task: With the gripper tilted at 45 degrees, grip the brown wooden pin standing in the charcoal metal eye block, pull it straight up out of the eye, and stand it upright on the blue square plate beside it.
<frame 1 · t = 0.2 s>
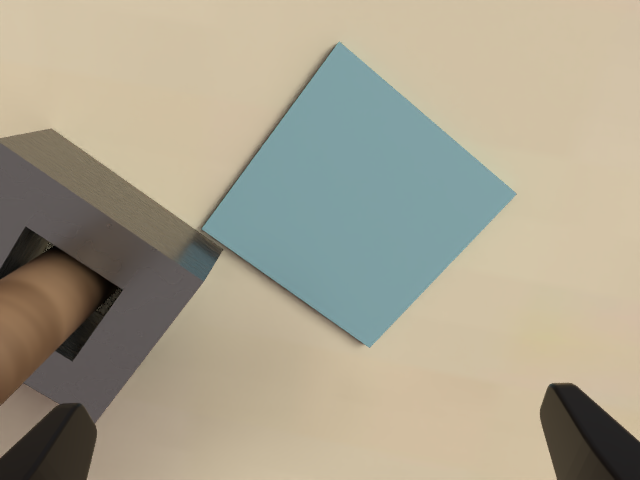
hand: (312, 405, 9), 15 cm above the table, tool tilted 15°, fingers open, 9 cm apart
brown wooden pin: (2, 335, 18), in the eye block
blue square plate: (355, 208, 23), on the table
eye block: (92, 263, 25), on the table
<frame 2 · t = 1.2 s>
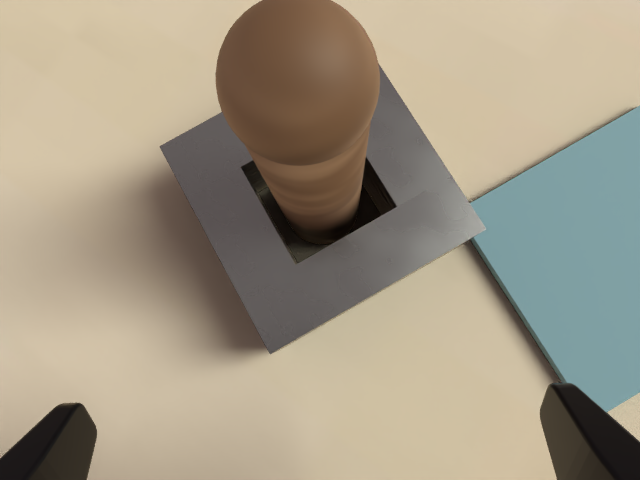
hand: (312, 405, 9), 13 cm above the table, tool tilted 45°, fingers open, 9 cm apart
brown wooden pin: (312, 160, 16), in the eye block
blue square plate: (614, 254, 22), on the table
eye block: (321, 208, 23), on the table
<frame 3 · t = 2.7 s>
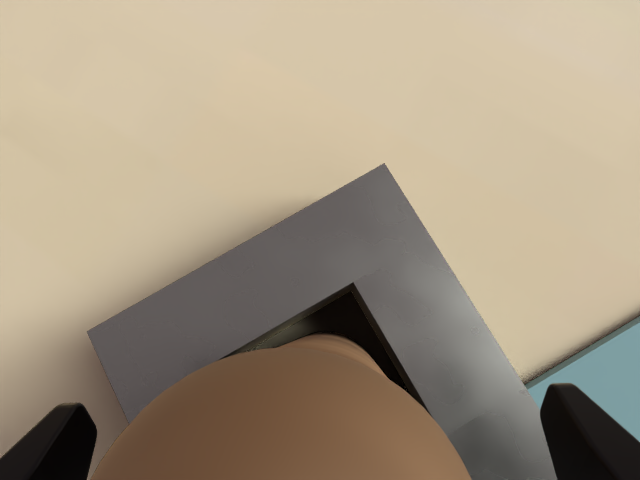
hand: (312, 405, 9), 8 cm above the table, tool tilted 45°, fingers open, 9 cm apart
brown wooden pin: (315, 427, 10), in the eye block
eye block: (326, 382, 17), on the table
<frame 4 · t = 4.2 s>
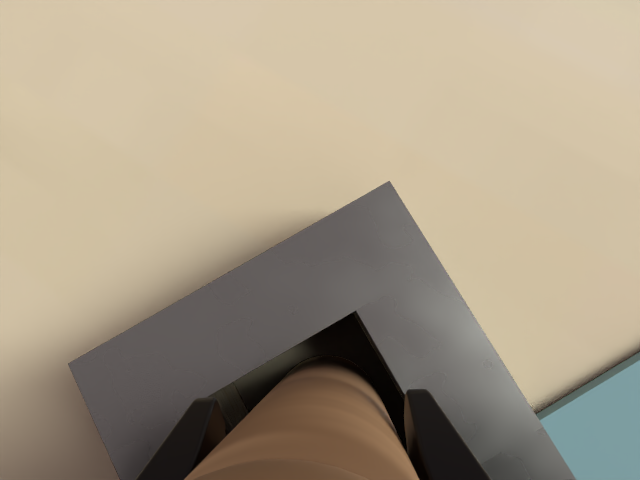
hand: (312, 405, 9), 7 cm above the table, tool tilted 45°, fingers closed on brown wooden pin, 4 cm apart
eye block: (327, 409, 16), on the table
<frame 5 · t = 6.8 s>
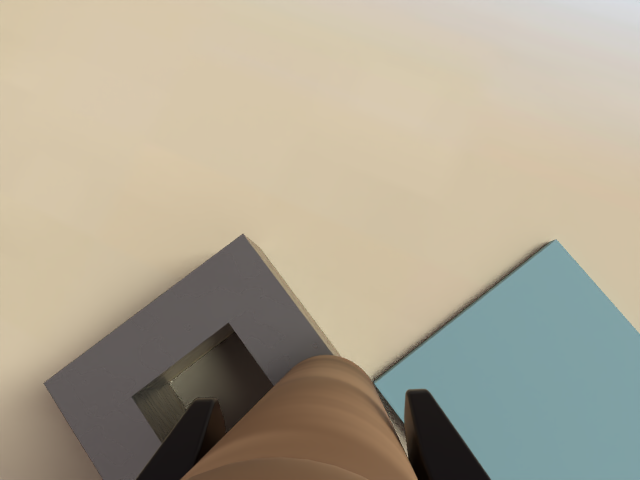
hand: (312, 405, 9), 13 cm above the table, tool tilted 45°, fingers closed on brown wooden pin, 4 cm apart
blue square plate: (541, 406, 21), on the table
eye block: (237, 392, 22), on the table
when the fingers open (8 cm above the table, at t = 9.5 s): brown wooden pin stays where it is, resting on blue square plate.
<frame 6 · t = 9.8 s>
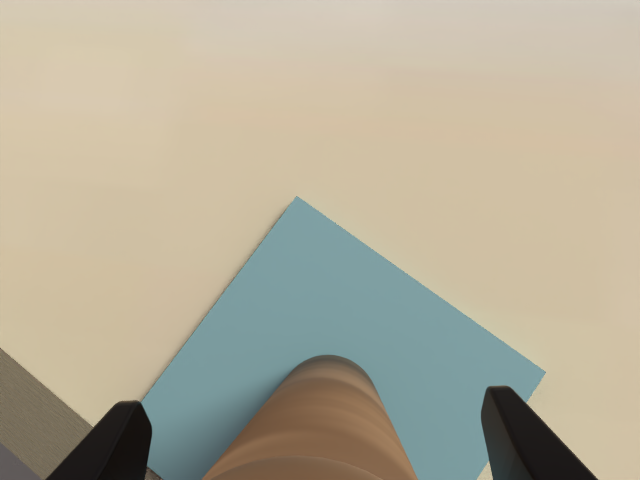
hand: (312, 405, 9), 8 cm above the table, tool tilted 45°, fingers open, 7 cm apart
brown wooden pin: (319, 478, 9), on the blue square plate, point 8 cm above the table
blue square plate: (328, 402, 17), on the table
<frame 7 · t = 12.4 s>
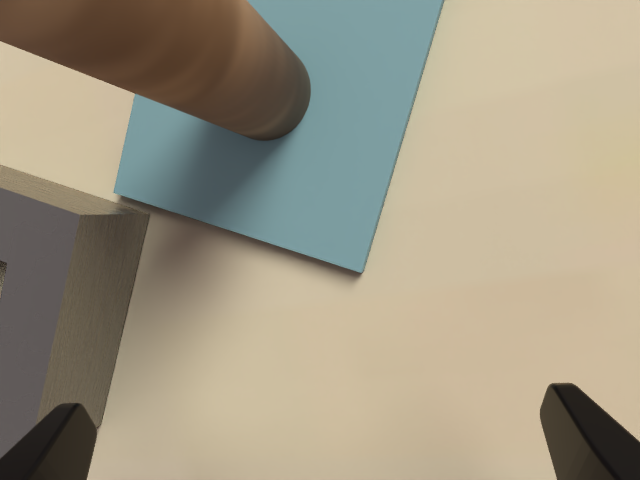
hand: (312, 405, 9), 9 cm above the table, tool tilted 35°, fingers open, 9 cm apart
brown wooden pin: (152, 15, 11), on the blue square plate, point 8 cm above the table
blue square plate: (270, 95, 18), on the table
eye block: (34, 287, 22), on the table
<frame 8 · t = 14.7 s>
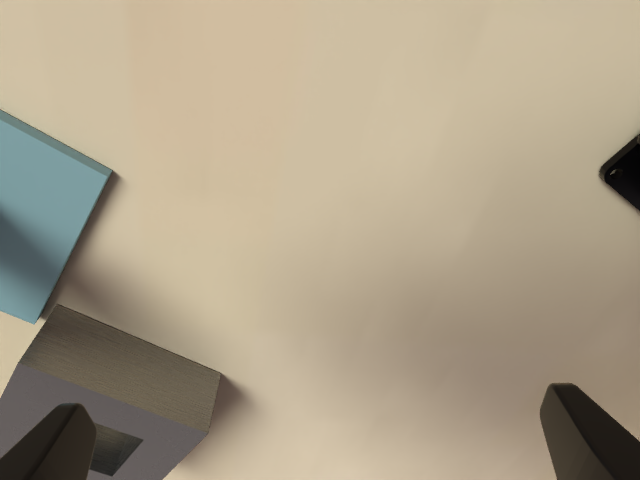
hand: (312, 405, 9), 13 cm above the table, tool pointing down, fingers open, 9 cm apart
eye block: (112, 385, 29), on the table
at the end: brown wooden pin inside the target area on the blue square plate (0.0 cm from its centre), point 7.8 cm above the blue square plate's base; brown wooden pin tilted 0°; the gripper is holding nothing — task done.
